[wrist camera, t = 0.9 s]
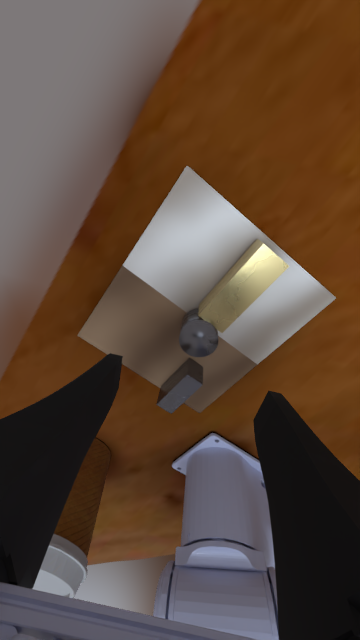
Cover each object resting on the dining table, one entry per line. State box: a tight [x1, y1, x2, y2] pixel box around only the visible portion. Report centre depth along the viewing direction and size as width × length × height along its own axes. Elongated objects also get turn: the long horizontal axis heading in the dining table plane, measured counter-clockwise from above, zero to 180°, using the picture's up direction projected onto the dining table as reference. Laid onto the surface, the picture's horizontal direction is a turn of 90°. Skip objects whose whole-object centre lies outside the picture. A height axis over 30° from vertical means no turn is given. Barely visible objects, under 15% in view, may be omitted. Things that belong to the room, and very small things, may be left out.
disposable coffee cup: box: [32, 438, 111, 598], centre depth 26 cm, size 10×10×12 cm
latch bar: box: [179, 239, 289, 357], centre depth 17 cm, size 9×3×3 cm, turn 143°
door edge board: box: [77, 166, 336, 413], centre depth 20 cm, size 14×16×1 cm
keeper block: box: [157, 357, 203, 413], centre depth 21 cm, size 2×4×2 cm, turn 143°
